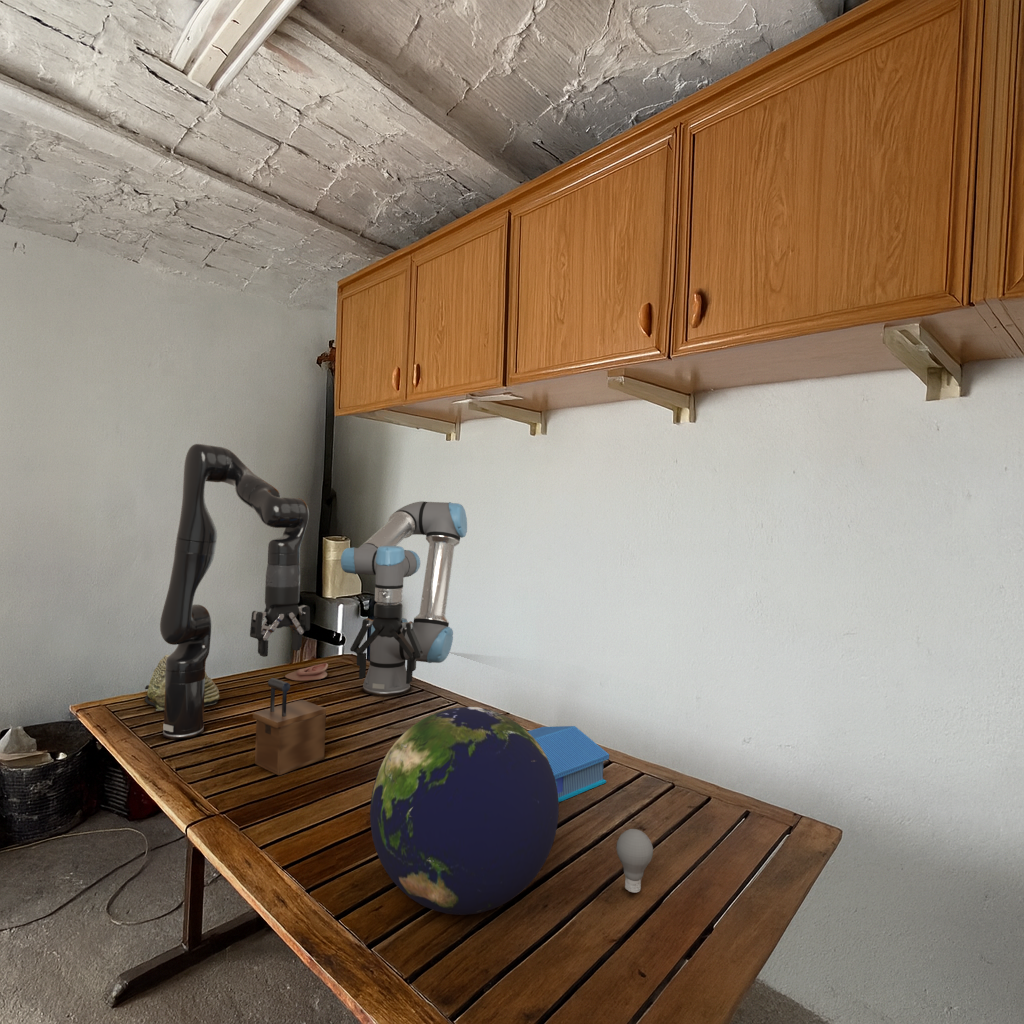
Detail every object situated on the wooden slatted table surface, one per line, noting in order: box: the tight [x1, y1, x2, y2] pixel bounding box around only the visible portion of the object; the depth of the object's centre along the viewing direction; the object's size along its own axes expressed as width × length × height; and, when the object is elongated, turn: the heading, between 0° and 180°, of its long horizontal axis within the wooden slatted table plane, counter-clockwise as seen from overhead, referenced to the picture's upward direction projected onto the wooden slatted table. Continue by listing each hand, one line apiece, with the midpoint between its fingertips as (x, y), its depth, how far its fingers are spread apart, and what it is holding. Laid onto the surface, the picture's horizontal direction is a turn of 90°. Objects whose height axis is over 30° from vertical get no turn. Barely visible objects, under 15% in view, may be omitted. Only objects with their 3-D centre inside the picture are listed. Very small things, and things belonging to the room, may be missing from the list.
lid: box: [252, 677, 327, 728], centre depth 150 cm, size 13×10×9 cm
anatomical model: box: [284, 662, 329, 682], centre depth 220 cm, size 13×4×12 cm
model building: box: [526, 725, 610, 803], centre depth 140 cm, size 39×24×10 cm, turn 132°
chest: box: [254, 713, 327, 776], centre depth 150 cm, size 12×10×11 cm
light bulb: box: [615, 828, 654, 894], centre depth 106 cm, size 6×6×10 cm
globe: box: [369, 706, 560, 916], centre depth 102 cm, size 30×30×30 cm
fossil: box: [146, 654, 221, 712], centre depth 185 cm, size 9×18×15 cm, turn 132°
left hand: (280, 652), depth 147 cm, fingers open, 8 cm apart
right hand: (385, 680), depth 173 cm, fingers open, 13 cm apart
